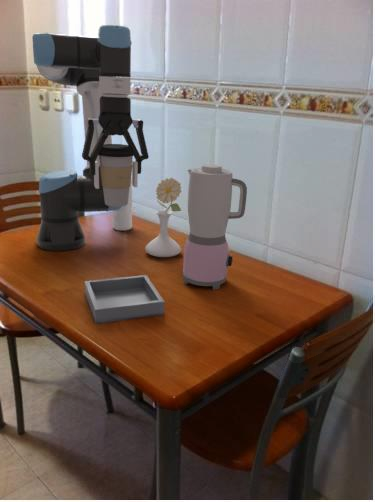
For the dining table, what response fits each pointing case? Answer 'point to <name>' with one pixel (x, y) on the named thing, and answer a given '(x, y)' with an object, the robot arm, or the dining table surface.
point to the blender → (210, 224)
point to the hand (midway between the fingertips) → (115, 186)
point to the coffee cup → (116, 173)
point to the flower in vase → (165, 220)
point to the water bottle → (124, 215)
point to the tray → (123, 299)
